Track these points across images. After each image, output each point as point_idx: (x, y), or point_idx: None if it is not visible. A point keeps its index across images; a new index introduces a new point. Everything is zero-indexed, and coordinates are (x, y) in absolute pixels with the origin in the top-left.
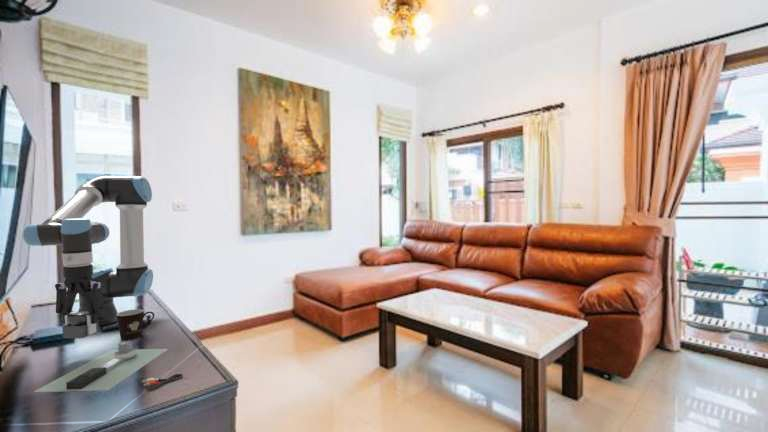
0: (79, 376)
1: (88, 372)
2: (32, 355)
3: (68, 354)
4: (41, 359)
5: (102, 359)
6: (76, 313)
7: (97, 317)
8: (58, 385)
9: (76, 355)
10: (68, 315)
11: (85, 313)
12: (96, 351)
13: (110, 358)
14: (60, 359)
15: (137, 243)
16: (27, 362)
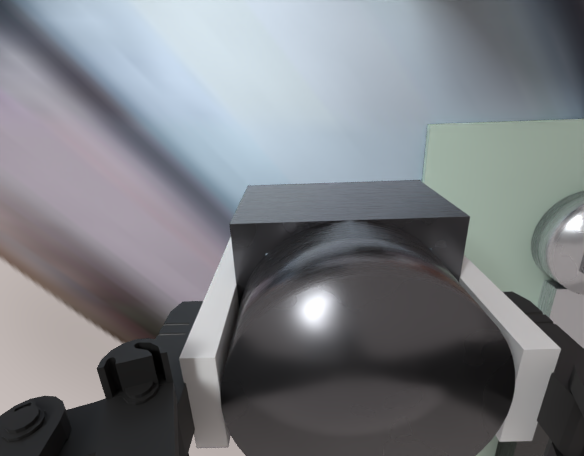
0: (522, 451)
1: (537, 428)
2: (7, 171)
3: (204, 163)
4: (122, 223)
5: (466, 251)
6: (284, 383)
7: (560, 332)
8: None
9: (265, 178)
10: (247, 447)
11: (429, 386)
12: (337, 122)
13: (501, 240)
14: (225, 226)
15: None
16: (91, 255)
